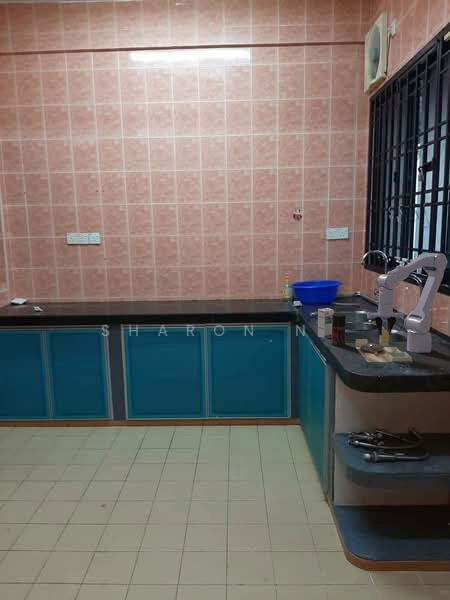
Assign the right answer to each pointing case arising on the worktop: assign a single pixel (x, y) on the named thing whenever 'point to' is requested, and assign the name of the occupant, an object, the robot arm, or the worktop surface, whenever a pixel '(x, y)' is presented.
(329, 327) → the syrup box
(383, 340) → the block
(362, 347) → the crank
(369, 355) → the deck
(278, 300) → the worktop surface
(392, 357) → the tray
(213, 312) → the worktop surface
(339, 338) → the deodorant
